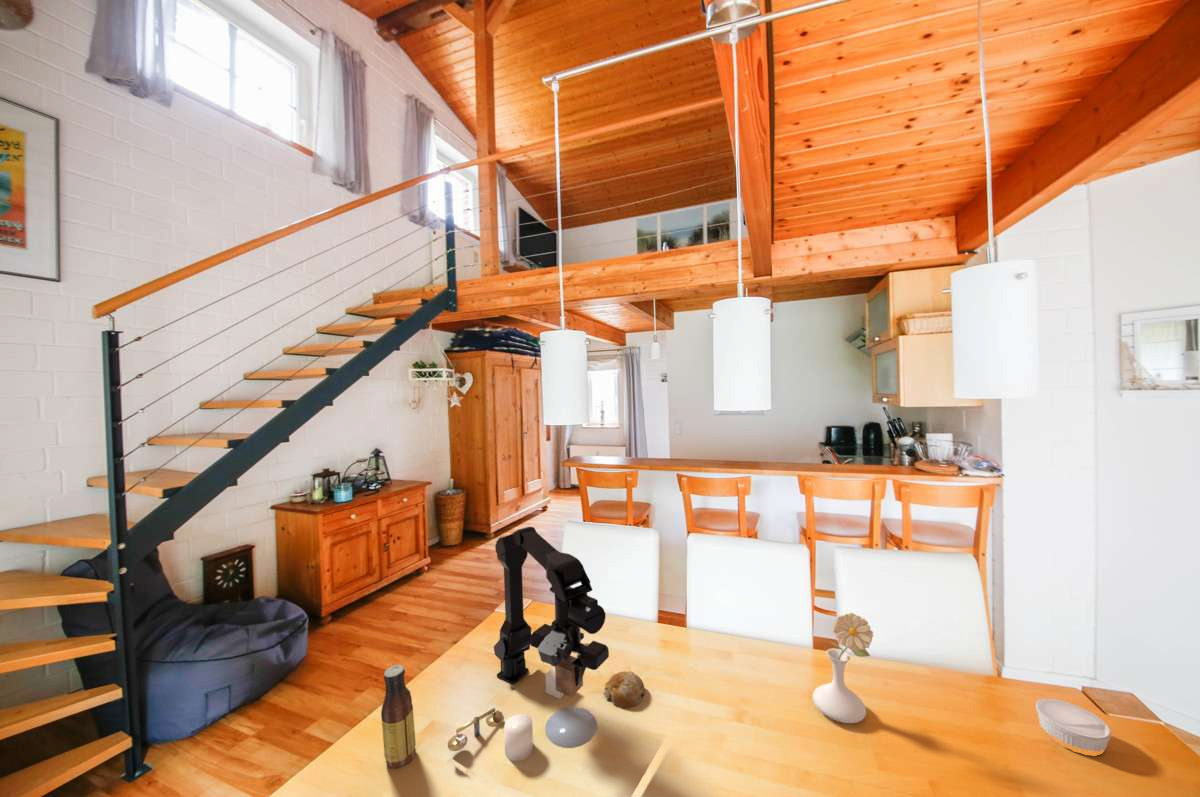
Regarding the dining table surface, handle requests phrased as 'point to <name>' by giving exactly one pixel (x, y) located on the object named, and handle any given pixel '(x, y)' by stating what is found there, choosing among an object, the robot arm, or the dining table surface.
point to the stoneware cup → (518, 737)
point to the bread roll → (624, 689)
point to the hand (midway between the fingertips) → (569, 681)
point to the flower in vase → (836, 695)
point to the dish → (571, 727)
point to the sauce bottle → (397, 719)
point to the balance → (461, 740)
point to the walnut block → (566, 677)
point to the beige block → (552, 684)
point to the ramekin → (1073, 724)
